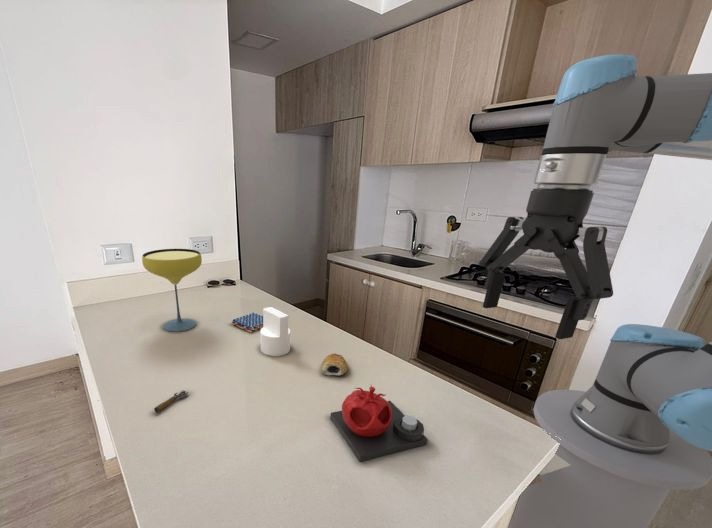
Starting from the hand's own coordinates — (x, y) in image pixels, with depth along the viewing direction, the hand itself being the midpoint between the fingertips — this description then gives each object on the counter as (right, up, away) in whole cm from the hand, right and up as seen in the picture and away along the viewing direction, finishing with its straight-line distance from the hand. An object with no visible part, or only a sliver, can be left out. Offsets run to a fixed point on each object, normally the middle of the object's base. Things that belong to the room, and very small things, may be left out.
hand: (522, 320), depth 58 cm
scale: (-22, -23, +13) cm, 34 cm away
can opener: (-67, -19, +20) cm, 72 cm away
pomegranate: (-24, -22, +12) cm, 35 cm away
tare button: (-16, -21, +10) cm, 29 cm away
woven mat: (-54, -3, +62) cm, 82 cm away
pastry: (-28, -14, +35) cm, 47 cm away
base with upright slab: (-44, -9, +46) cm, 65 cm away
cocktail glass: (-78, -3, +60) cm, 99 cm away
